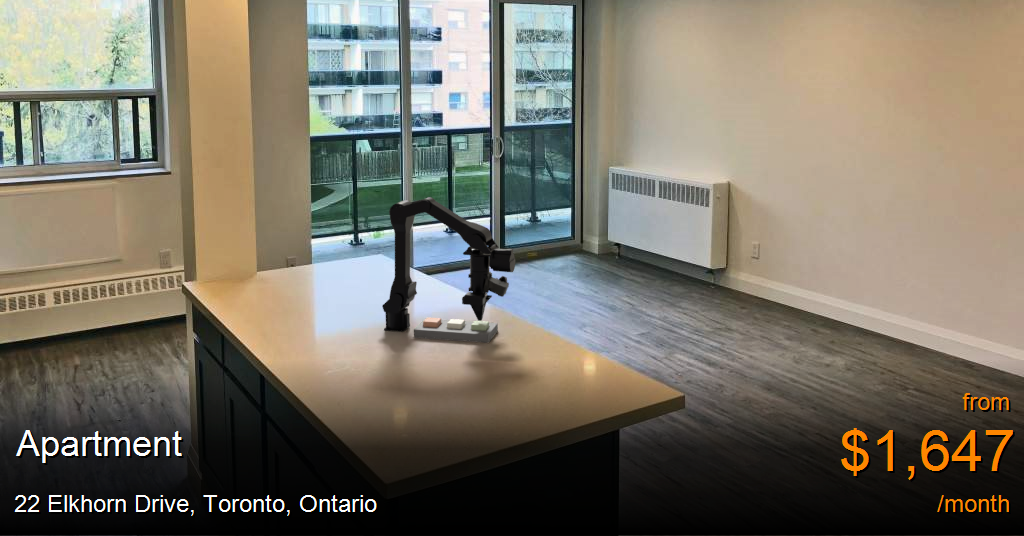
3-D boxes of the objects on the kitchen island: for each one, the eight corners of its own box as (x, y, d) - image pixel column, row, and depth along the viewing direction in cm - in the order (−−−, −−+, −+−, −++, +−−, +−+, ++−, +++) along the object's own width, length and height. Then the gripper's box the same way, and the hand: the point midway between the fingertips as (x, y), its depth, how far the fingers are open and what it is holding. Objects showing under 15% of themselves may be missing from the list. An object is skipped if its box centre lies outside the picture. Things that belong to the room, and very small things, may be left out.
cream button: (447, 331, 285) (447, 323, 284) (451, 326, 289) (451, 318, 288) (461, 331, 284) (461, 324, 283) (465, 327, 288) (465, 319, 287)
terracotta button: (423, 329, 286) (423, 321, 286) (427, 325, 290) (427, 317, 290) (437, 330, 285) (437, 322, 285) (441, 326, 290) (441, 318, 289)
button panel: (413, 337, 283) (413, 329, 283) (425, 325, 295) (425, 318, 294) (488, 342, 279) (488, 334, 278) (497, 330, 290) (497, 323, 289)
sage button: (471, 332, 283) (471, 324, 283) (474, 328, 287) (474, 320, 287) (485, 333, 282) (485, 325, 282) (489, 329, 286) (489, 321, 286)
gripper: (499, 278, 270) (499, 331, 274) (513, 264, 288) (512, 313, 291) (461, 276, 272) (461, 328, 276) (477, 262, 290) (477, 311, 294)
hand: (480, 320), depth 284 cm, fingers closed
